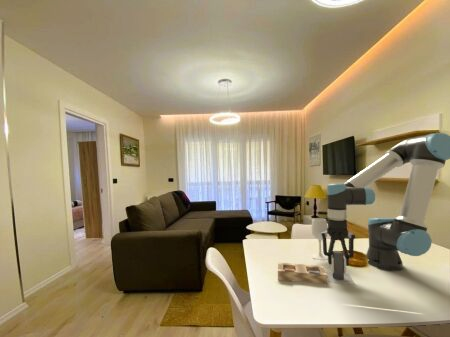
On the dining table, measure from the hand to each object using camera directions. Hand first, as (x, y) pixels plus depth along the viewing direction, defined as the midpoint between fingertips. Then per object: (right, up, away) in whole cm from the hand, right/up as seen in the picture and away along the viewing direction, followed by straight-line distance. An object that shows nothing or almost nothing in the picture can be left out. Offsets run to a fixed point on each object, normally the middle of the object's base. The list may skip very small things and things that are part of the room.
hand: (338, 272), depth 96 cm
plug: (0, -2, 0) cm, 2 cm away
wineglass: (+2, -4, +24) cm, 24 cm away
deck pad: (0, -3, 0) cm, 3 cm away
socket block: (-16, -3, +2) cm, 16 cm away
